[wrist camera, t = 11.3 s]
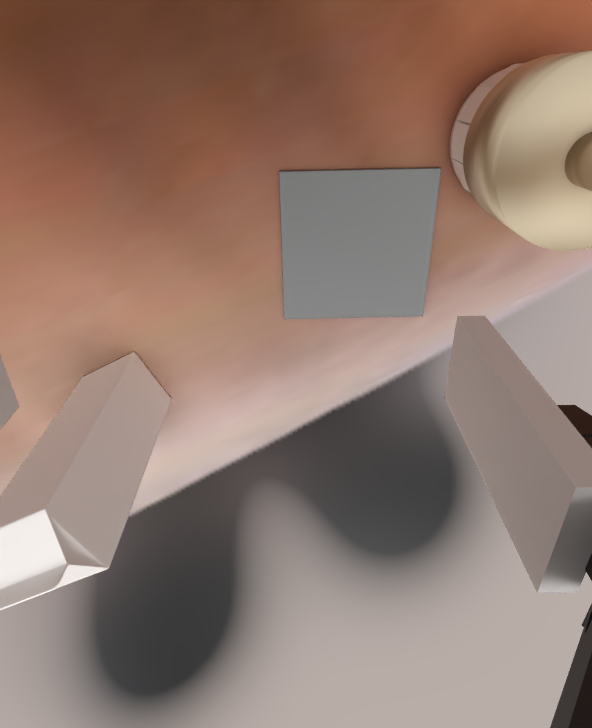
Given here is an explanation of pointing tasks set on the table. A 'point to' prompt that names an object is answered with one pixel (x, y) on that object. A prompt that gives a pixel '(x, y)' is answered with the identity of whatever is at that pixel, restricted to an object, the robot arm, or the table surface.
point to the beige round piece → (537, 151)
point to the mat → (357, 241)
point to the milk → (79, 482)
